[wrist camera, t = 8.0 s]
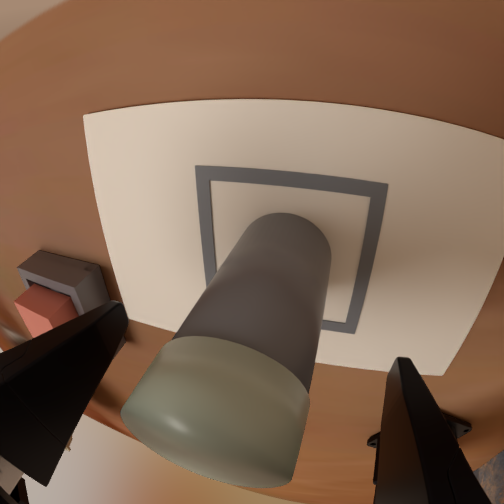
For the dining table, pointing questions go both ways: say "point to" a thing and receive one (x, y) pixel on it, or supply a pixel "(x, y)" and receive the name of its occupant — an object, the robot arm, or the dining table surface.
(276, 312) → the grey cylinder
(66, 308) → the button
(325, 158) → the paper sheet
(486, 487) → the bent metal bracket
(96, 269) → the button housing
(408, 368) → the robot arm
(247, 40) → the dining table surface
